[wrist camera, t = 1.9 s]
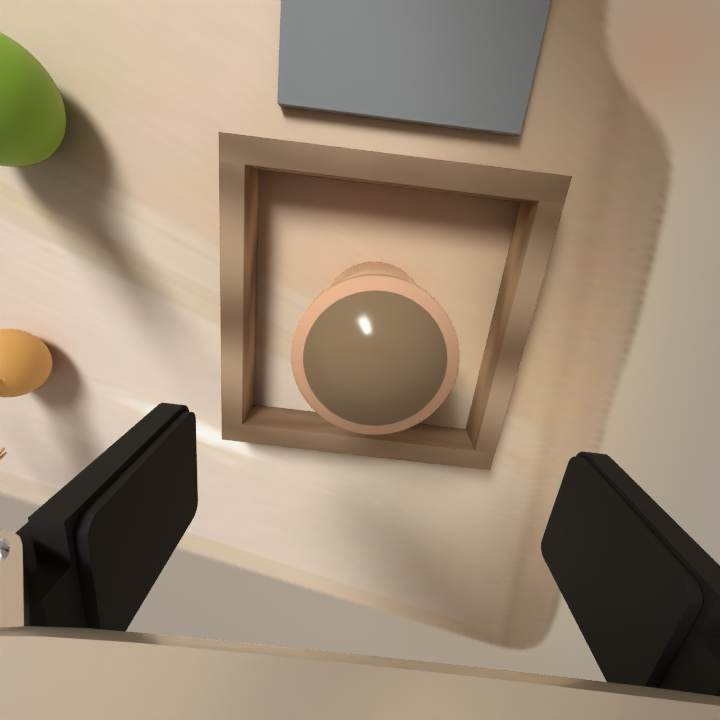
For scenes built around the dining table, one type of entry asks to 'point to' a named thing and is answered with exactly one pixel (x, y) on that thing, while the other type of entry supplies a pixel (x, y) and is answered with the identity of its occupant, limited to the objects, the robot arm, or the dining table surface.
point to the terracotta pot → (375, 351)
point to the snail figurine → (27, 108)
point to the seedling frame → (252, 154)
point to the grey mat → (413, 60)
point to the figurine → (22, 364)
